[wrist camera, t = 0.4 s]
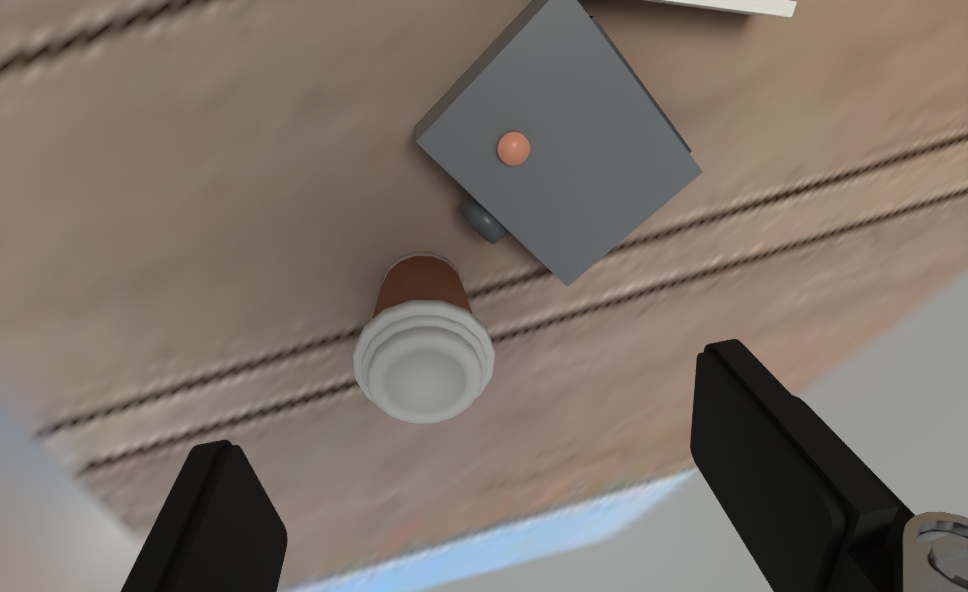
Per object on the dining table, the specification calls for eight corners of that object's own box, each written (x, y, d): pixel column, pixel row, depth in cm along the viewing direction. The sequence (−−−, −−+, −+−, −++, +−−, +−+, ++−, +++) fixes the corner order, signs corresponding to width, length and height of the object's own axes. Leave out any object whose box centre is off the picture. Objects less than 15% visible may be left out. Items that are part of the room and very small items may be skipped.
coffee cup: (484, 324, 44) (506, 424, 34) (378, 342, 44) (368, 448, 34) (470, 227, 40) (491, 308, 29) (352, 245, 39) (331, 334, 29)
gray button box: (550, -19, 32) (572, -22, 28) (677, 151, 39) (711, 171, 34) (399, 142, 36) (398, 163, 31) (538, 272, 42) (552, 304, 38)
